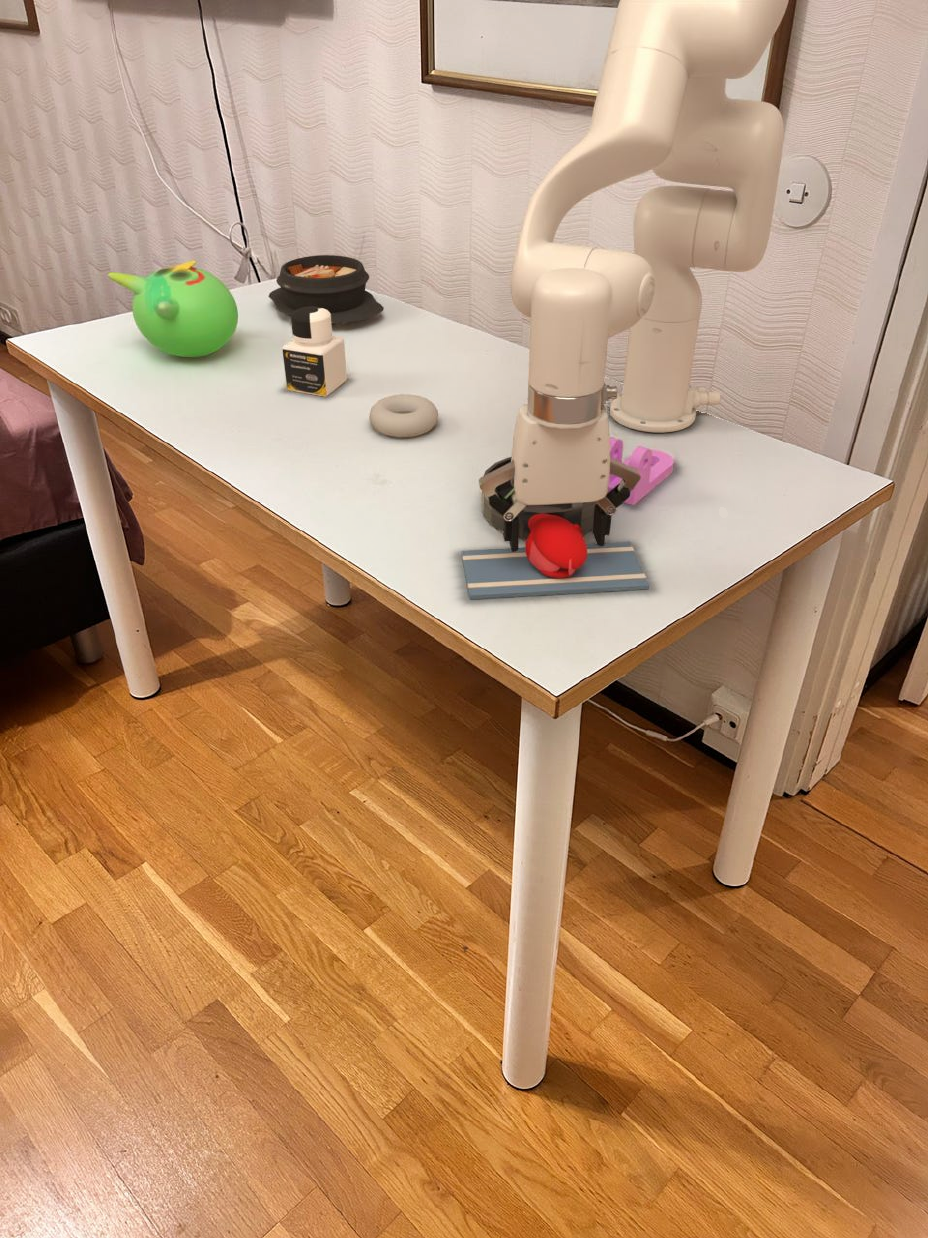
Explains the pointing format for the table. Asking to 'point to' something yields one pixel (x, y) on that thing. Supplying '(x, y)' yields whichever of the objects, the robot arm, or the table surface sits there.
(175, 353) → the toy bird
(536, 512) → the bowl
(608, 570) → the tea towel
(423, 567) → the table surface
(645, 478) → the bracket
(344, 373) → the medicine bottle
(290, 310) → the casserole
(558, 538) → the red rounded lobed piece
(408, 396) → the donut
